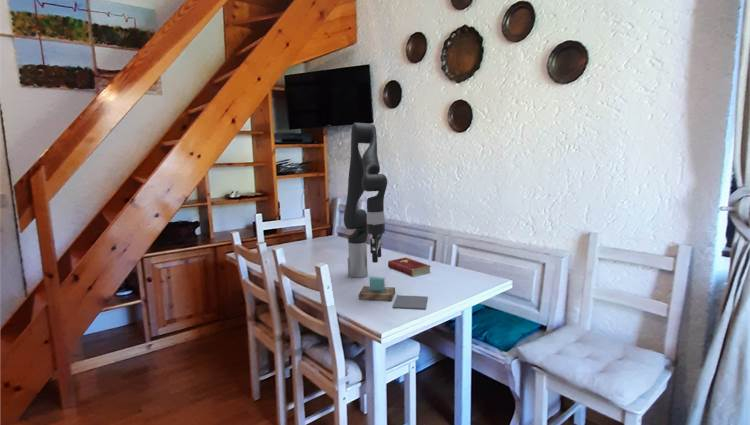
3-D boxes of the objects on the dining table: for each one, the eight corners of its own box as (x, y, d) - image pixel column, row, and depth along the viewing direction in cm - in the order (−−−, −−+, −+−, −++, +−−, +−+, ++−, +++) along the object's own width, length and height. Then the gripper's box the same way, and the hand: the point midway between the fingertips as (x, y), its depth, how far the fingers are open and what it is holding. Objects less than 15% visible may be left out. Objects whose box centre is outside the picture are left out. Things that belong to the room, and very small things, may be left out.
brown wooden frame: (358, 299, 174) (358, 292, 174) (364, 291, 184) (363, 284, 184) (391, 301, 172) (391, 293, 171) (395, 292, 181) (395, 286, 181)
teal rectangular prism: (370, 296, 177) (369, 278, 176) (371, 294, 180) (370, 277, 178) (383, 297, 176) (383, 279, 175) (384, 295, 178) (384, 277, 177)
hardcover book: (412, 277, 203) (412, 269, 203) (388, 268, 221) (387, 260, 220) (430, 273, 210) (430, 265, 209) (406, 264, 227) (405, 256, 227)
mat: (392, 308, 164) (392, 306, 164) (397, 296, 177) (397, 295, 177) (425, 309, 162) (425, 308, 161) (427, 297, 174) (427, 296, 174)
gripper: (370, 219, 181) (371, 255, 183) (363, 225, 167) (364, 264, 169) (387, 219, 179) (388, 255, 182) (381, 225, 165) (382, 264, 168)
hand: (376, 259), depth 175 cm, fingers open, 8 cm apart
